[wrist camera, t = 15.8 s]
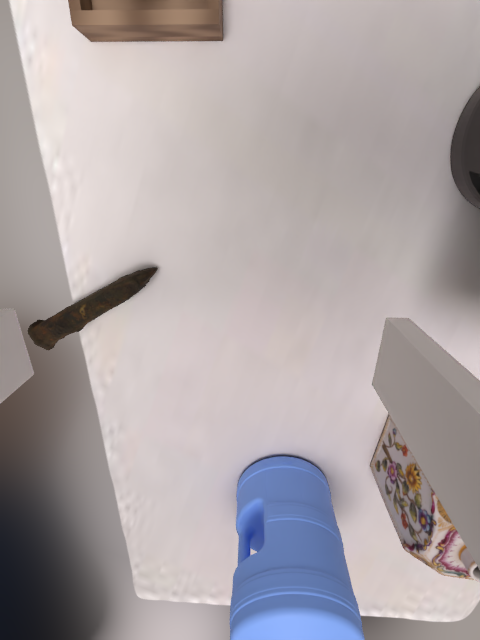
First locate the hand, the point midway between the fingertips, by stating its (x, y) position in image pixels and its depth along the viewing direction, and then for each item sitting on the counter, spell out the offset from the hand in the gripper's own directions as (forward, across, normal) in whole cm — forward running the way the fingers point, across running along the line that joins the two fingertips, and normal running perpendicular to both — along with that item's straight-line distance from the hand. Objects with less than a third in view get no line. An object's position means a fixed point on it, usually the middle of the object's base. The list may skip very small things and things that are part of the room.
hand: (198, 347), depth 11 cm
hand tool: (+29, -19, -9) cm, 36 cm away
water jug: (+29, +8, -43) cm, 52 cm away
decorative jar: (+29, +28, -32) cm, 51 cm away
